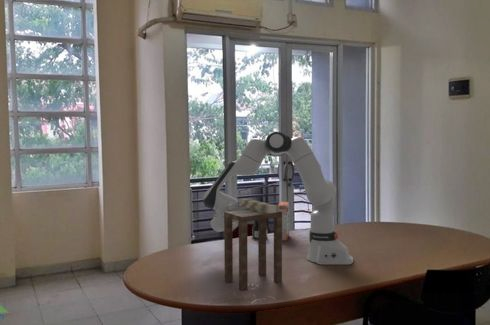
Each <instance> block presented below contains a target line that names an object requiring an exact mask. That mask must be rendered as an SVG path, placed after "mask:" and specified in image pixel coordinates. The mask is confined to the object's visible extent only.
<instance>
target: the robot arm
mask: <svg viewBox="0 0 490 325" xmlns="http://www.w3.org/2000/svg"><path fill="white" fill-rule="evenodd" d="M285 154H286V155H287V156H288V157H289V158H290V159H291V161H292V163H293V165H294V167H295V170H296V171H297V172H298V175H299V177H300V178H301V182H302V185H303V187H304V189H305V190H304V191H305V193H306V199H307V200H308V202H309V203H310V204H312V209H311V212H310V230H309V233H308V234H309V237H308V238H309V239H308V240H309V249H308V252H307V257H306V259H307V261H309V262H312V263H315V264H318V265H337V266H338V265H339V266H340V265H351V264H353V263H354V257H353V256H352V255H350V254H349V249H348V247H347V245H345V244H344V243H343V242H341V241H340V240H338V238H339V235H338V233H337V231H334V212H335V206H336V195H337V187H336V185H335V183H334V182H332V181H331V180H328V179H327V180H326V179H325V177H324V174H323V171H322V167H321V165H320V162H319V161H318V158H316V155H315V154H314V152H313V151H312V149H311V147H310V145H309V144H308V143H307V141H306V140H305V139H304V138H303V137H301V136H295V137H293V138H291V137H290V136H288V135H287V134H285V133H284V132H282V131H277V130H276V131H272V132H270V133H269V134H268V135H267V137H266V138H265V139H261V138H257V137H256V138H255V137H254V138H252V139H250V140H249V142H248V143H247V144H246V146H245V147H244V149H243V151H242V152H241V154H240V156H239V157H238V158H237V159H236V160H235V161H233V160H232V161H230V162H229V163H228V164H227V165H226V166H225V168H224V169H223V170H222V171H221V173H220V174H219V175H218V176H217V178H216V179H215V181H214V182H213V183H212V185H211V186H210V187H209V188H208V190H206V191H205V193H204V195H203V198H202V202H203V204H204V207H206V208H208V209H211V210H214V211H215V213H213V214H212V216H213V218H212V219H211V220H210V226H211V228H212V229H213V231H215V232H218V233H220V232H221V233H222V232H224V212H227V211H235V210H243V209H247V207H243V206H241V203H240V202H239V200H238V199H237V198H235V197H234V196H232V195H229V194H227V193H224V192H222V191H221V188H223V187H224V185H225V184H226V182H227V181H228V180H229V178H231V177H232V176H246V177H248V176H252V175H255V174H256V173H257V172H258V170H259V169H260V167H261V165H262V162H263V161H264V159H265V157H266V156H271V157H276V158H277V157H281V156H284V155H285ZM237 223H239V221H237V220H234V219H232V226H233V225H235V224H237Z"/></svg>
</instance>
